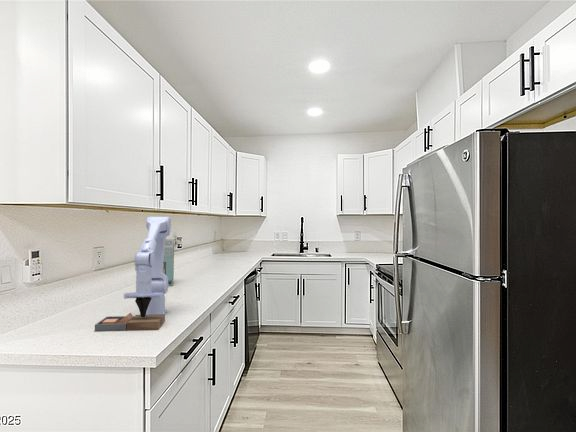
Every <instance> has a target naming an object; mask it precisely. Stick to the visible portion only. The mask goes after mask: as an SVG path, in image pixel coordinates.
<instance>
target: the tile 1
mask: <svg viewBox="0 0 576 432" xmlns="http://www.w3.org/2000/svg"><path fill="white" fill-rule="evenodd" d="M102 324H118V319H106V320H105V321H103V322H102Z"/></svg>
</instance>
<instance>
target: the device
mask: <svg viewBox="0 0 576 432" xmlns="http://www.w3.org/2000/svg"><path fill="white" fill-rule="evenodd" d="M174 267H175V239H174V238H171V239H170V238H169V239H167V238H166V240H165V249H164V260H163V271H162V272H163V273H164V274H165V275H166V276H167V277H168V287H173V286H174V272H175V271H174V269H175V268H174ZM152 280H163V279H152Z"/></svg>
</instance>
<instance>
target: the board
mask: <svg viewBox="0 0 576 432" xmlns="http://www.w3.org/2000/svg"><path fill="white" fill-rule="evenodd" d="M133 316H134V317H133V318H132V319H131V320H129V321H128V322H127V330H126V331H127V332H128V331H158V330H159V329H160V328H162V326H163V325H164V323H165V321H166V318H165V316H166V313H165V314H151V315H146V316H145V317H141V315H140V314H135V315H133Z"/></svg>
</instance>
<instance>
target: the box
mask: <svg viewBox="0 0 576 432" xmlns="http://www.w3.org/2000/svg"><path fill="white" fill-rule="evenodd" d="M125 316H126V315H124V316H123V315H122V316H120V315H119V316H117V315H115V316H105V317H104V318H103V319H100V321H98V322H97V323H95V324H94V332H126V331H127V322H128V321H127V322H126V323H125V324H102V322H103V321H105V320H106V319H118V322H119V321H120V320H121V319H123V318H124V317H125ZM134 316H135V315H133V317H134ZM133 317H132V318H133ZM132 318H131V319H132ZM131 319H130V320H131Z"/></svg>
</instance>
